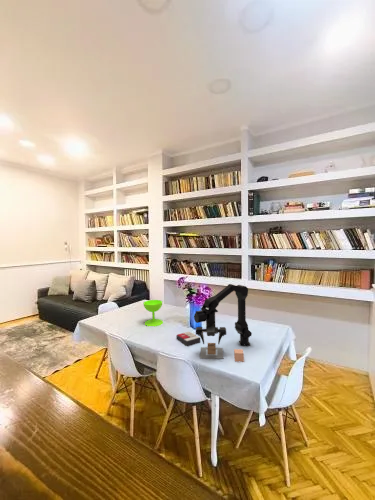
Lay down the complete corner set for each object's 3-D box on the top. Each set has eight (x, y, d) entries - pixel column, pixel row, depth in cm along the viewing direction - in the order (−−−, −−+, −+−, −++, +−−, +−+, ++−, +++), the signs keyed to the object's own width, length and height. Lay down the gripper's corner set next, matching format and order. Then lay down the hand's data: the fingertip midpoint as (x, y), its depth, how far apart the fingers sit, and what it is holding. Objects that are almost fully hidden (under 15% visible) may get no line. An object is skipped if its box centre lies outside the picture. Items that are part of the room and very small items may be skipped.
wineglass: (140, 325, 206) (140, 304, 205) (149, 319, 222) (148, 299, 221) (158, 327, 202) (157, 305, 201) (166, 320, 217) (165, 300, 216)
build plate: (200, 347, 163) (200, 347, 163) (222, 348, 162) (222, 347, 162) (200, 358, 149) (200, 357, 149) (223, 358, 148) (223, 358, 148)
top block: (234, 357, 150) (234, 349, 149) (242, 357, 149) (242, 349, 149) (235, 361, 145) (234, 353, 144) (243, 361, 144) (243, 353, 144)
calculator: (189, 330, 184) (200, 336, 171) (189, 336, 184) (200, 342, 171) (176, 334, 178) (186, 340, 166) (176, 340, 178) (187, 346, 166)
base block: (207, 350, 158) (207, 342, 158) (215, 350, 158) (215, 342, 157) (207, 354, 153) (207, 346, 153) (215, 354, 153) (215, 346, 152)
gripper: (194, 324, 147) (195, 350, 148) (226, 324, 145) (227, 350, 146) (195, 317, 158) (196, 341, 159) (225, 318, 156) (226, 342, 157)
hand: (211, 344), depth 155 cm, fingers open, 9 cm apart
